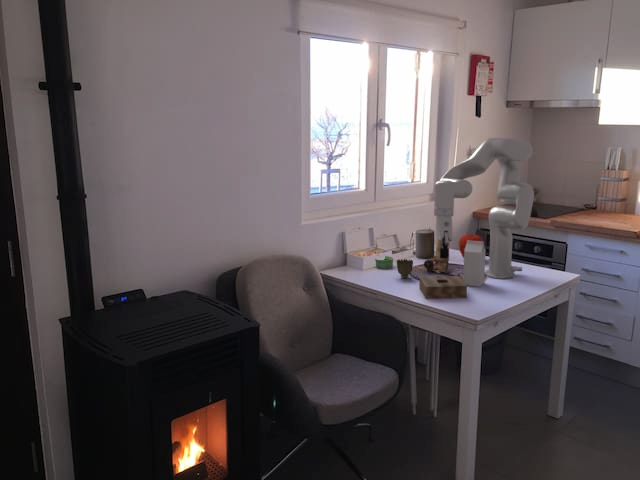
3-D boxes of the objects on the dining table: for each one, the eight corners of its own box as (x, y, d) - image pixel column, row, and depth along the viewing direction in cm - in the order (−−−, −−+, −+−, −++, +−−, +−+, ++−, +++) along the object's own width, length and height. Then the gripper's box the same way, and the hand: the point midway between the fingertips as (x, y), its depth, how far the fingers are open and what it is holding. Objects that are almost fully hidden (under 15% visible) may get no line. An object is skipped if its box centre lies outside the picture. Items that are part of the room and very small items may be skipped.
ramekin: (397, 267, 264) (397, 258, 263) (383, 270, 259) (383, 261, 258) (384, 263, 271) (384, 254, 270) (371, 266, 266) (371, 257, 265)
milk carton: (479, 287, 229) (481, 243, 225) (463, 285, 233) (464, 242, 229) (484, 282, 235) (486, 240, 231) (468, 280, 239) (469, 238, 234)
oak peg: (446, 269, 223) (448, 237, 221) (450, 272, 218) (451, 240, 215) (434, 269, 223) (435, 237, 221) (436, 272, 218) (437, 240, 215)
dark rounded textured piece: (412, 280, 241) (412, 263, 240) (396, 279, 243) (396, 262, 241) (413, 275, 249) (413, 258, 247) (397, 275, 250) (397, 258, 248)
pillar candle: (437, 256, 282) (438, 227, 279) (427, 259, 275) (427, 230, 272) (422, 253, 288) (422, 226, 285) (411, 257, 281) (411, 229, 278)
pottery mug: (435, 267, 262) (444, 254, 258) (445, 280, 255) (454, 267, 251) (416, 265, 257) (424, 251, 253) (425, 278, 250) (434, 264, 246)
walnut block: (458, 287, 230) (458, 275, 229) (466, 297, 216) (467, 285, 215) (419, 288, 230) (419, 276, 229) (425, 298, 216) (425, 286, 215)
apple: (453, 259, 274) (453, 232, 270) (471, 256, 279) (472, 229, 276) (470, 265, 263) (471, 236, 260) (488, 261, 268) (489, 234, 265)
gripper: (458, 215, 207) (456, 261, 211) (448, 208, 224) (446, 251, 228) (439, 215, 207) (437, 261, 211) (430, 208, 224) (429, 251, 228)
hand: (442, 255), depth 220 cm, fingers closed on oak peg, 5 cm apart
